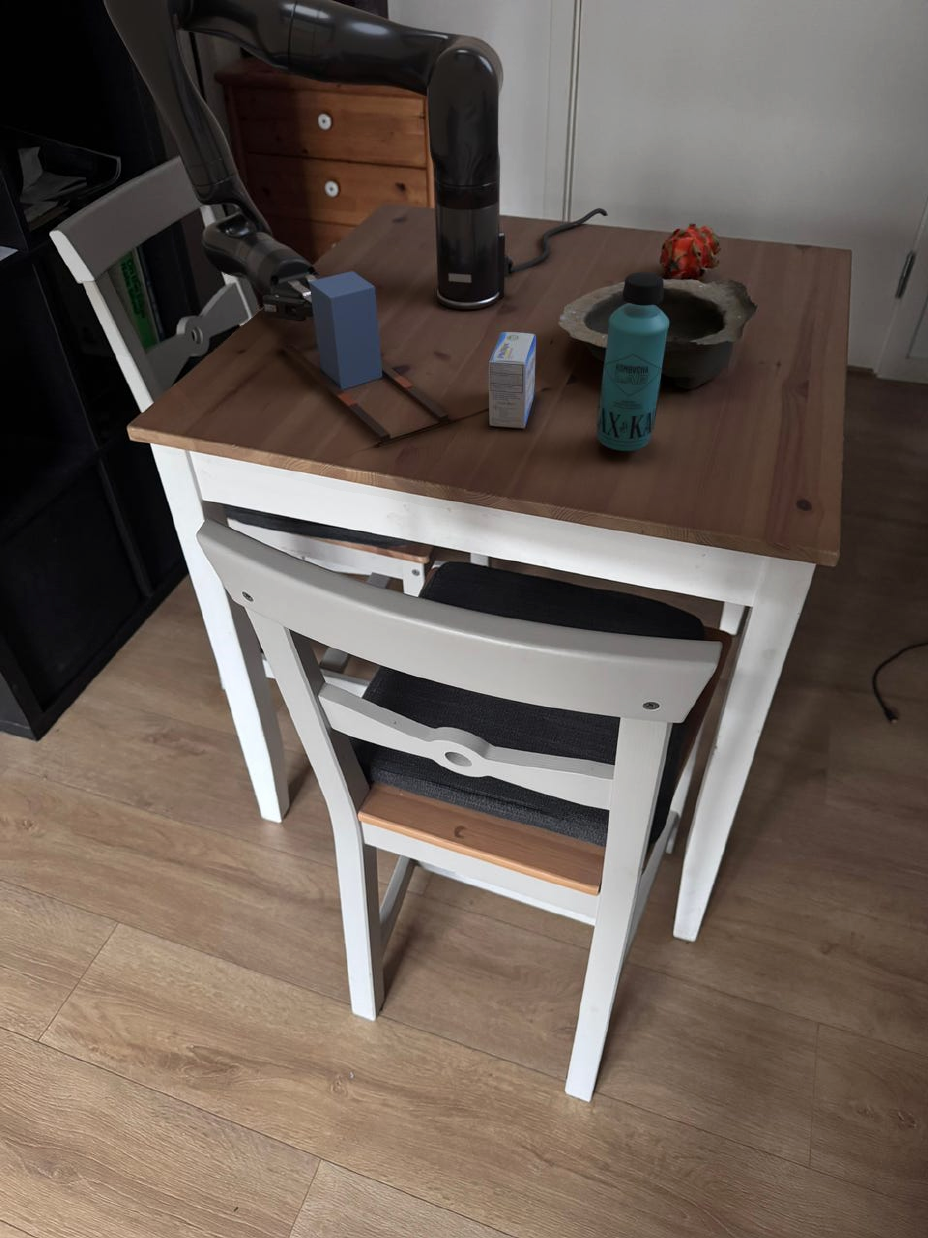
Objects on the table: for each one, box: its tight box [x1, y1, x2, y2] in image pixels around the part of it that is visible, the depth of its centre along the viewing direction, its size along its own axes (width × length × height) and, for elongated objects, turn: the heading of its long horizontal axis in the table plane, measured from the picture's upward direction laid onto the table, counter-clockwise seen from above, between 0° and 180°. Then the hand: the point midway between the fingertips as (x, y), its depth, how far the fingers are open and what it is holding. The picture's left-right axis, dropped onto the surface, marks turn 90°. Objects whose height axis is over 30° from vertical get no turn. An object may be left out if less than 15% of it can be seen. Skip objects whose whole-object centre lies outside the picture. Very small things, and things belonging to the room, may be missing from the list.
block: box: [309, 270, 383, 391], centre depth 113 cm, size 6×6×12 cm
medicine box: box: [488, 331, 537, 429], centre depth 107 cm, size 8×4×9 cm, turn 168°
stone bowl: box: [557, 278, 759, 390], centre depth 117 cm, size 25×25×9 cm
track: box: [283, 344, 452, 448], centre depth 115 cm, size 10×28×1 cm, turn 32°
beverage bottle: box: [595, 271, 669, 452], centre depth 97 cm, size 6×7×20 cm
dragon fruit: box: [659, 222, 722, 281], centre depth 138 cm, size 8×8×12 cm
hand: (335, 319), depth 115 cm, fingers closed
